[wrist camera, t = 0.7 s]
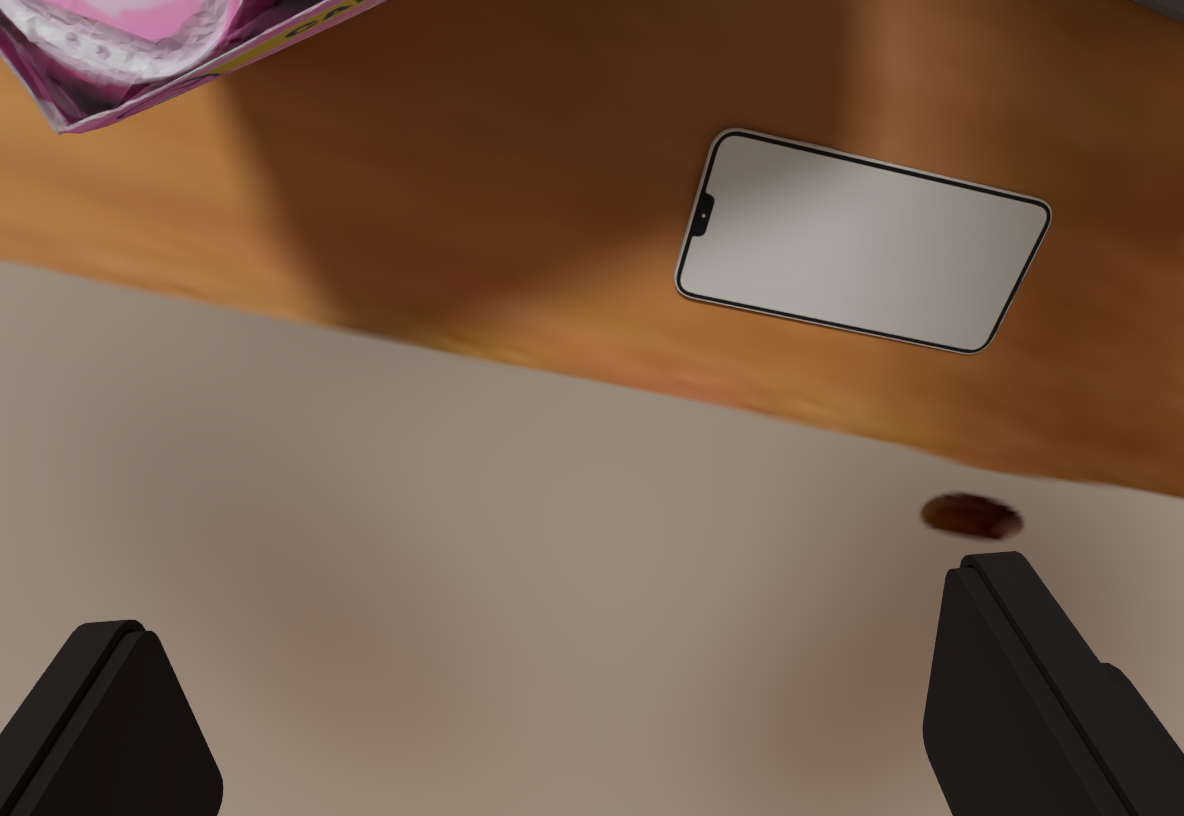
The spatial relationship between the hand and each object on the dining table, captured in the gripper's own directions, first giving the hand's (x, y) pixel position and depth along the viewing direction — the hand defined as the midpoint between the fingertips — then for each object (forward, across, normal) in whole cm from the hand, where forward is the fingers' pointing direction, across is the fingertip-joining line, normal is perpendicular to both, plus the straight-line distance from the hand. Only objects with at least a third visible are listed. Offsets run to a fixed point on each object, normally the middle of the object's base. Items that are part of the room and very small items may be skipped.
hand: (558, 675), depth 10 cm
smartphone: (+28, -12, +5) cm, 31 cm away
